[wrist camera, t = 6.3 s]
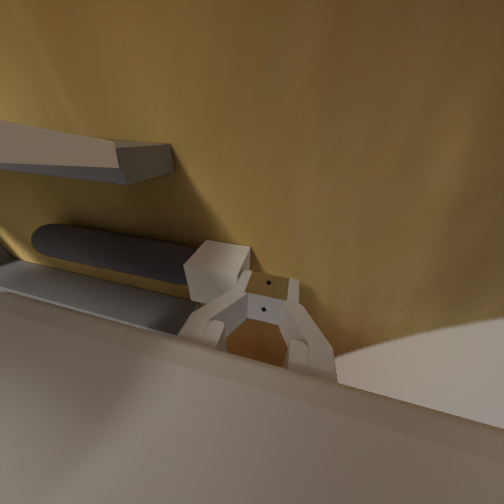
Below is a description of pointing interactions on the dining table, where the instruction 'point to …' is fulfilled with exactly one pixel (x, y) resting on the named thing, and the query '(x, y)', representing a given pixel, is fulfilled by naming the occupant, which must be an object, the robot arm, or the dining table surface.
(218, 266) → the white-capped dark rod
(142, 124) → the dining table surface
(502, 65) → the dining table surface
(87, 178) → the grey flat frame
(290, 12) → the dining table surface
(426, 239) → the dining table surface
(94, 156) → the cover
